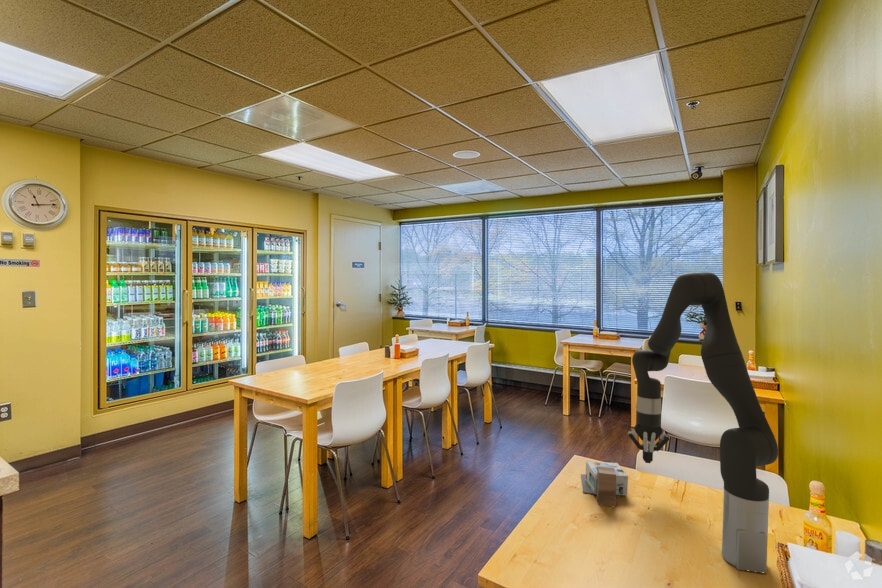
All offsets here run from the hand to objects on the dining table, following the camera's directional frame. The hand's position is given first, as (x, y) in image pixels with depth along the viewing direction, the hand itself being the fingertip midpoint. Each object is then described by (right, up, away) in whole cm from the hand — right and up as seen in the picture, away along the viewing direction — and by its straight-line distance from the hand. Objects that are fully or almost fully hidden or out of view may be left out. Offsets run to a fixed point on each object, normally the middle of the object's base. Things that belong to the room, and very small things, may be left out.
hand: (647, 462), depth 145 cm
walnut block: (-16, -10, -7) cm, 20 cm away
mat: (-15, -10, +4) cm, 18 cm away
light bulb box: (-7, -6, +2) cm, 10 cm away
